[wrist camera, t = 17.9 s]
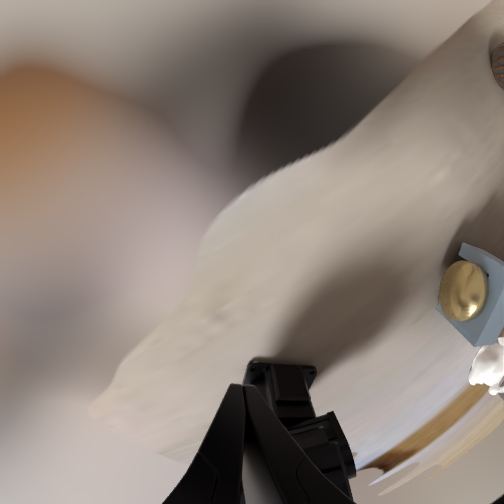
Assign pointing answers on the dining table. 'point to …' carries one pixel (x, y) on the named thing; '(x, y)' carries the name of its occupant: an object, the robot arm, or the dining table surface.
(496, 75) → the vase
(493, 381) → the rabbit figurine
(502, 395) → the tray rim
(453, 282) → the shaft
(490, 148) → the dining table surface
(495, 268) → the spacer
